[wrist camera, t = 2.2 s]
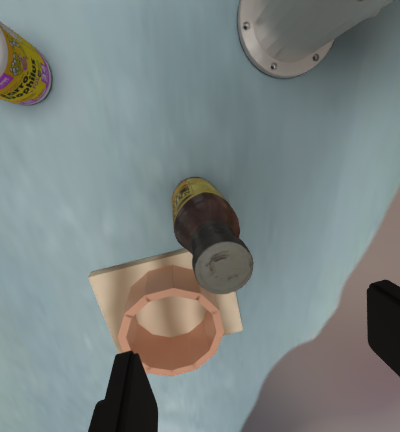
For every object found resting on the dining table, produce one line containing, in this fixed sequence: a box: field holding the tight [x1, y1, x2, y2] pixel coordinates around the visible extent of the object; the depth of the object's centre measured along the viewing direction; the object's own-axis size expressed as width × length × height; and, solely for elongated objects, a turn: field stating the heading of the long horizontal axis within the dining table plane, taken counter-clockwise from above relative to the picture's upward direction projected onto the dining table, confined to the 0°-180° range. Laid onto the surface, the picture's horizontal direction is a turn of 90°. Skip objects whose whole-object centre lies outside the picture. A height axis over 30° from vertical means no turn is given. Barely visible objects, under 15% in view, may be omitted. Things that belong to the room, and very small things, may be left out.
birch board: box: [88, 249, 243, 354], centre depth 38 cm, size 20×16×2 cm
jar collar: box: [118, 265, 224, 376], centre depth 34 cm, size 13×13×6 cm
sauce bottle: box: [172, 177, 253, 294], centre depth 25 cm, size 6×6×20 cm
